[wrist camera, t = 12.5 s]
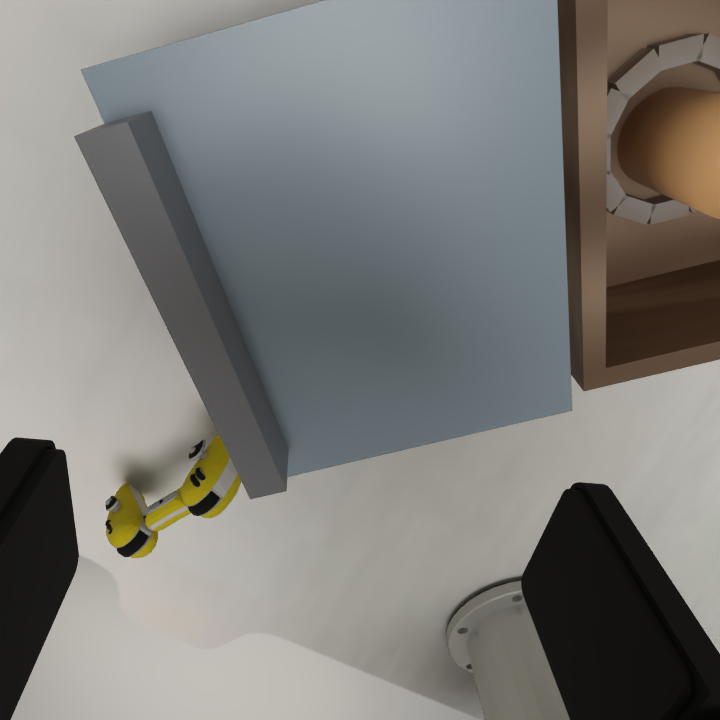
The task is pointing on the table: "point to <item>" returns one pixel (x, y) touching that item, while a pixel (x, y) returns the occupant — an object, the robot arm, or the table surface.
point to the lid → (349, 222)
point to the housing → (633, 193)
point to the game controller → (172, 501)
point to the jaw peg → (675, 146)
